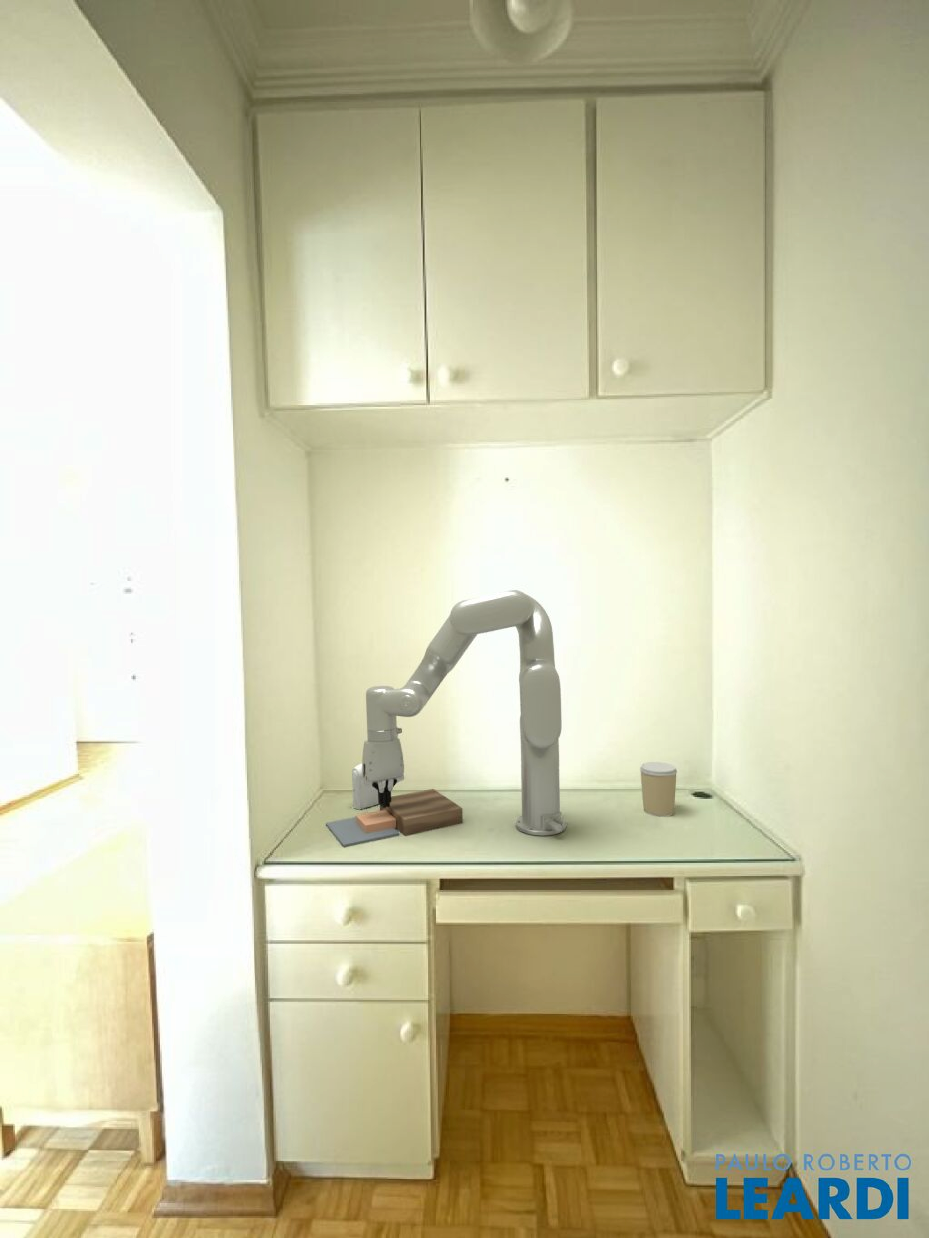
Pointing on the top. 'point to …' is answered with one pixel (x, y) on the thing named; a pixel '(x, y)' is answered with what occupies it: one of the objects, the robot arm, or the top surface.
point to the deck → (423, 811)
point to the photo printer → (363, 790)
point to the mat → (356, 832)
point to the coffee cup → (658, 788)
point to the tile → (375, 821)
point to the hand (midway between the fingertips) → (384, 805)
